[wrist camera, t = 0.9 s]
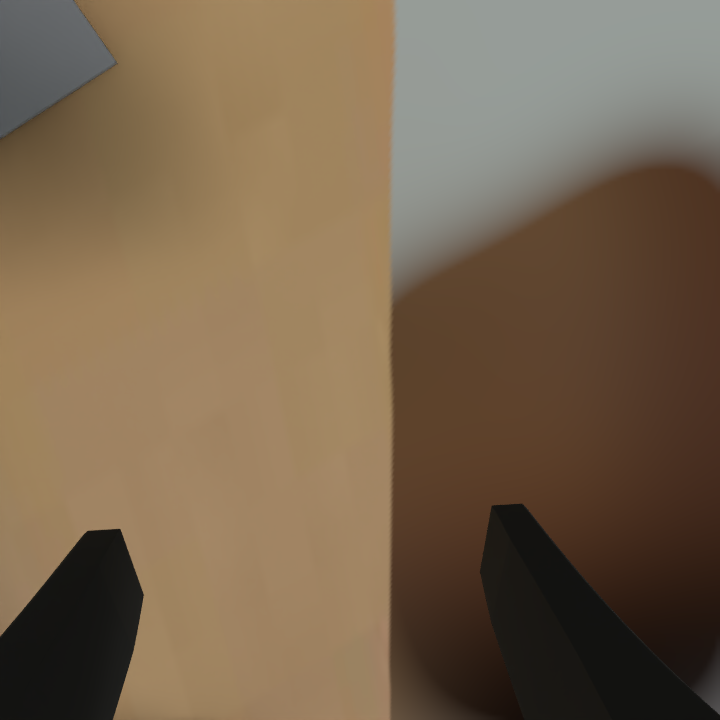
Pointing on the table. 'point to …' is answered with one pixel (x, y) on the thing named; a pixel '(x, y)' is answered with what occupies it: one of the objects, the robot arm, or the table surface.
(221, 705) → the table surface
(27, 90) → the mat
